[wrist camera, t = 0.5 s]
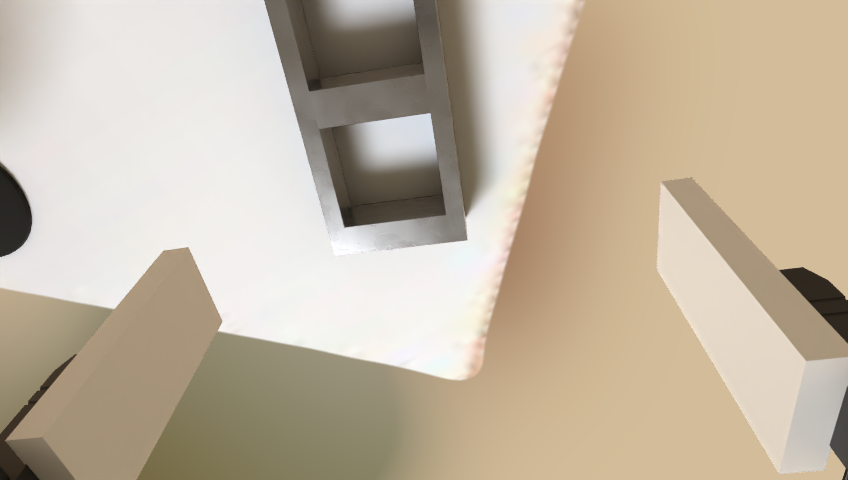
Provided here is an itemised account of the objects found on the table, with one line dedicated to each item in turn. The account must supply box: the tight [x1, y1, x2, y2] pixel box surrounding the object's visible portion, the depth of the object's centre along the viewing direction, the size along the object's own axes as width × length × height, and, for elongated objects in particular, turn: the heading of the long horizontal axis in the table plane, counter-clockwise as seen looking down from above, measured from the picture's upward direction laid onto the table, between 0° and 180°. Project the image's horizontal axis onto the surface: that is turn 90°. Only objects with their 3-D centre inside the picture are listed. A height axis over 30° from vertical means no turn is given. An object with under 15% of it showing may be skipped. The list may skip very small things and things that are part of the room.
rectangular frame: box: [264, 0, 467, 256], centre depth 37 cm, size 22×10×4 cm, turn 9°
